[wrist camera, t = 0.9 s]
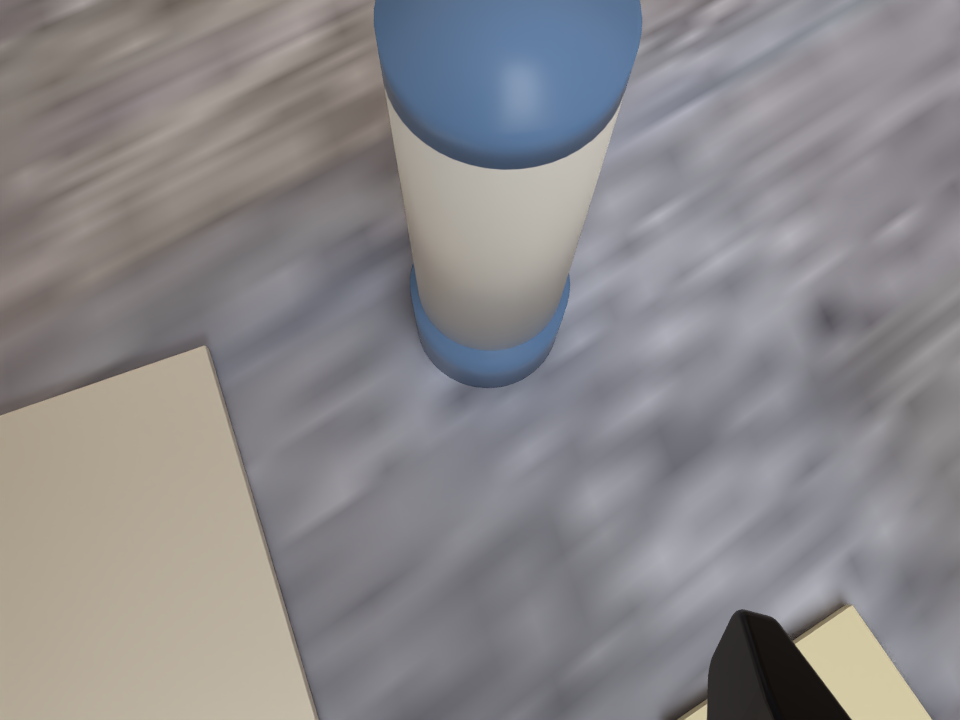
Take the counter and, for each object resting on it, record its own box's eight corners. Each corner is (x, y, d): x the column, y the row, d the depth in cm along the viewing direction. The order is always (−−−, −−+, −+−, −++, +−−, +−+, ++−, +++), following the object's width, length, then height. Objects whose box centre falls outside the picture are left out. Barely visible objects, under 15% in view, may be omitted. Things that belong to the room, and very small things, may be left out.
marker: (579, 359, 23) (705, 89, 11) (445, 408, 23) (417, 184, 10) (526, 237, 24) (586, -134, 12) (397, 281, 24) (321, -58, 12)
